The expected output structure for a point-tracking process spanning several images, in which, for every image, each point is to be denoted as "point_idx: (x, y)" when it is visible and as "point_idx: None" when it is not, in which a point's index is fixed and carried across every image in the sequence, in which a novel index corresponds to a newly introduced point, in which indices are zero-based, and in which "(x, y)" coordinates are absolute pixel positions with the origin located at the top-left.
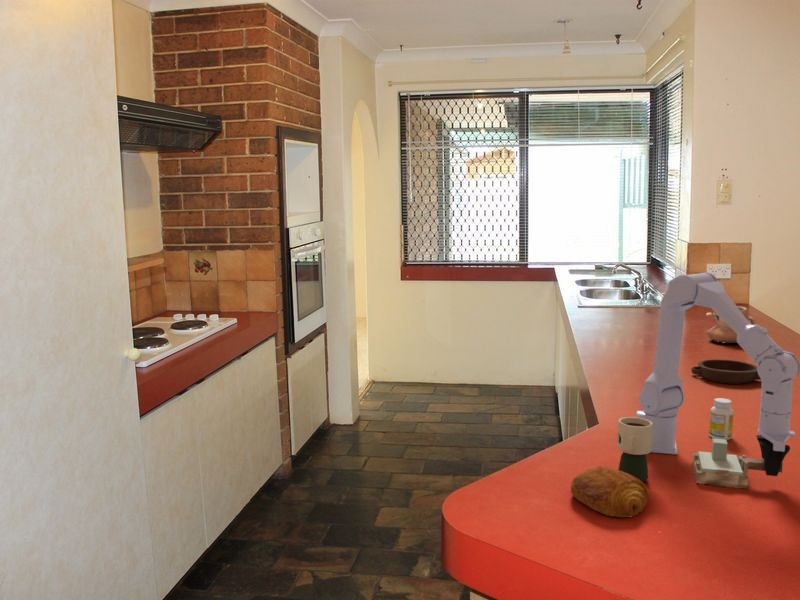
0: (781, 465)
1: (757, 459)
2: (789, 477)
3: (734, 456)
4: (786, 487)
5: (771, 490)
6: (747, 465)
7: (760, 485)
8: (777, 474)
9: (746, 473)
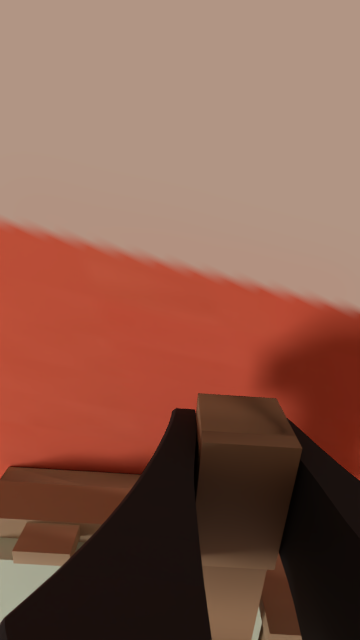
0: (294, 441)
1: None
2: (47, 254)
3: (13, 570)
4: (213, 309)
5: (268, 390)
6: (295, 616)
7: None
8: (290, 421)
9: (278, 559)
